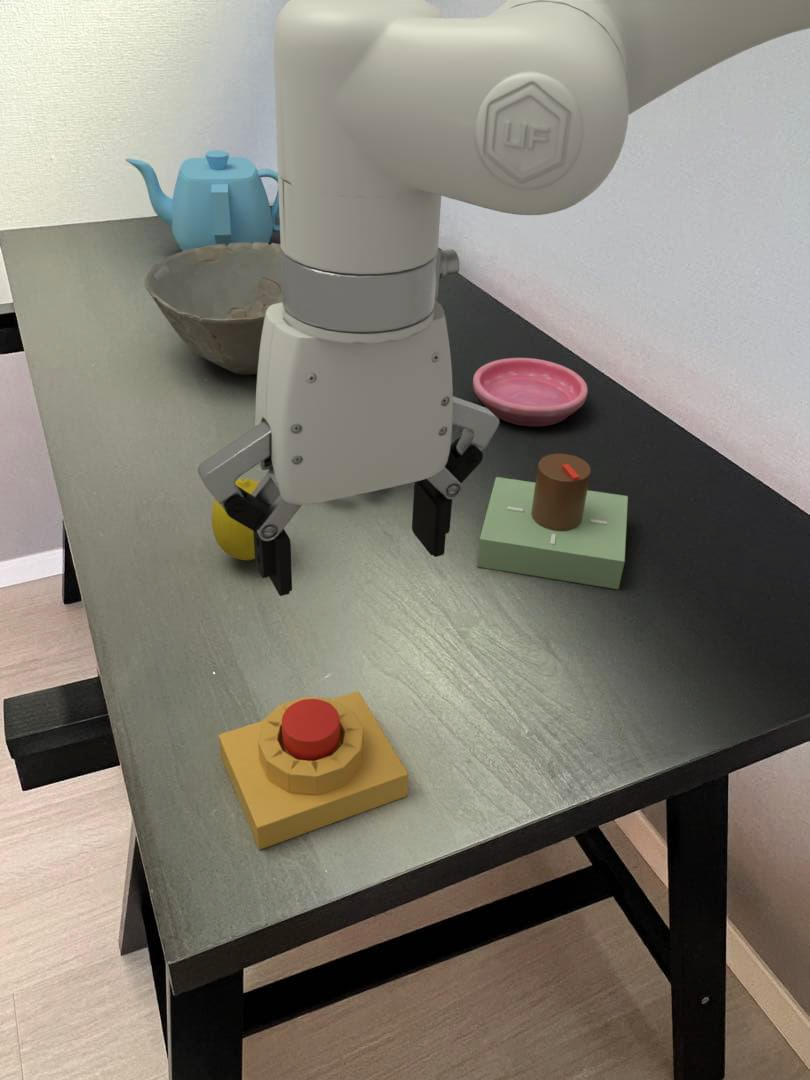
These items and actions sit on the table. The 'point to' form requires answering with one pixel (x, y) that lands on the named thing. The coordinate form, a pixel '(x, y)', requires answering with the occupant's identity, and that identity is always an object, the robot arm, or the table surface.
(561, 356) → the table surface
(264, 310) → the ceramic bowl
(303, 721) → the button
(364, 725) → the button box
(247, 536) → the lemon
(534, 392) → the saucer
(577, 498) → the knob
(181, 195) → the teapot
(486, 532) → the panel
